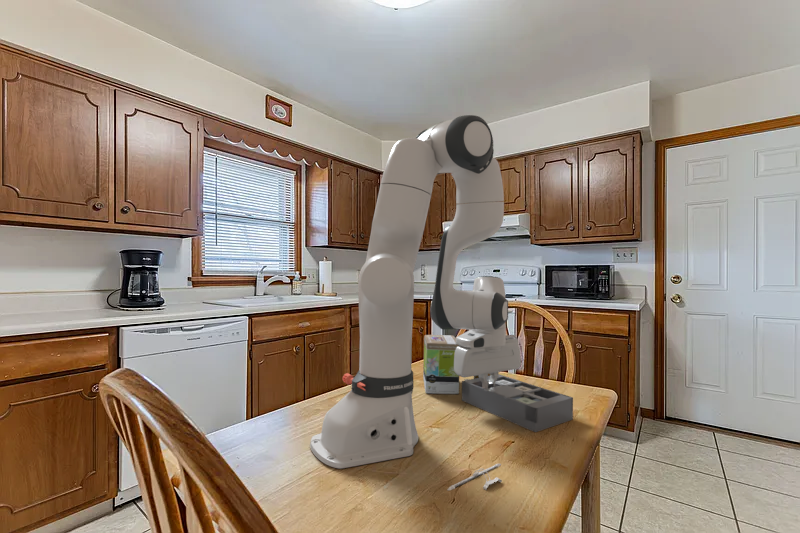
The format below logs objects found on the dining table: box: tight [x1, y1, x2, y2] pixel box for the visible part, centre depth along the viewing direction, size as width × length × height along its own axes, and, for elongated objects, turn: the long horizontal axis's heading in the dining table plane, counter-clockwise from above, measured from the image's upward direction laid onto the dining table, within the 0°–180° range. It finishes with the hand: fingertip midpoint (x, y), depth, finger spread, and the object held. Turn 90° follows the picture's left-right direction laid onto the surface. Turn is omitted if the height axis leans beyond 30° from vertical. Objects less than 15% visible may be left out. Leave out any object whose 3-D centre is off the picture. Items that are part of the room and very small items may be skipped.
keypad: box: [461, 374, 574, 433], centre depth 101 cm, size 14×24×5 cm, turn 33°
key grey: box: [495, 380, 515, 388], centre depth 108 cm, size 4×4×2 cm
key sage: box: [516, 397, 537, 404], centre depth 93 cm, size 4×4×2 cm
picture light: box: [446, 463, 503, 491], centre depth 67 cm, size 14×4×2 cm, turn 128°
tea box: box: [422, 334, 460, 395], centre depth 119 cm, size 15×10×15 cm
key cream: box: [515, 386, 534, 398], centre depth 103 cm, size 4×4×2 cm
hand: (488, 389), depth 104 cm, fingers closed
